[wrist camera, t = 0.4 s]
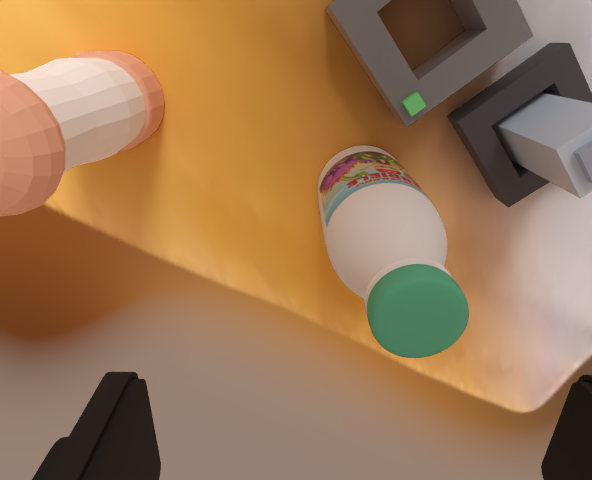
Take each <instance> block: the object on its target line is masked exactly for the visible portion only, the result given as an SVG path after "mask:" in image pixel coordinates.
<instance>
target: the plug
mask: <svg viewBox="0 0 592 480" xmlns="http://www.w3.org/2000/svg"><path fill="white" fill-rule="evenodd" d="M491 127H492V128H493V130H494V132H495V134H496V136H497V137H498V139H499V141H500V143H501V144H502V146H503V148H504V150H505V152H506V153H507V155H508V157H509V159H510V160H511V161H513V162H515V163H517V164H519V165H521V166H522V167H524V168H526V169H528V170H530V171H532V172H533V173H535V174H537V175H539V176H541V177H543V178H544V179H546V180H548V181H550V182H552V183H554V184H555V185H557V186H559V187H561V188H563V189H565V190H566V191H568V192H570V193H572V194H574V195H576V196H577V197H579V198H581V197H583V196H585V195H586V194H588V193H590V192H591V191H592V103H590V102H585V101H580V100H575V99H570V98H565V97H561V96H556V95H551V94H546V93H541V92H540V93H539V94H537V95H536V96H534V97H533V98H532V99H530V100H529V101H527V102H526V103H524V104H523V105H521V106H520V107H518V108H517V109H515V110H514V111H512V112H511V113H510V114H508V115H507V116H505V117H504V118H502V119H501V120H499V121H498V122H496V123H495V124H493V125H492V126H491Z"/></svg>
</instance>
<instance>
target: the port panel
mask: <svg viewBox="0 0 592 480" xmlns="http://www.w3.org/2000/svg"><path fill="white" fill-rule="evenodd" d="M390 1H391V0H334V1H333V2H332V3H331V4H329V5H328V6H327V8H326V9H325V11H326V12H327V14H328V15H329V17H330V18H331V20H332V21H333V23H334V24H335V26H336V28H337V29H338V31H339V32H340V34H341V35H342V37H343V38H344V40H345V41H346V43H347V45H348V46H349V48H350V49H351V51H352V52H353V54H354V55H355V57H356V58H357V60H358V61H359V63H360V65H361V66H362V68H363V69H364V71H365V72H366V74H367V75H368V77H369V78H370V80H371V82H372V83H373V85H374V86H375V88H376V89H377V91H378V92H379V94H380V95H381V97H382V99H383V100H384V102H385V103H386V105H387V106H388V108H389V109H390V111H391V112H392V114H393V115H394V117H395V118H396V119H397V120H398V121H400V122H401V123H402V124H404V125H405V126H406V127H408V126H409V125H410V124H412V123H413V122H415V121H416V120H417V119H419V118H420V117H422V116H423V115H424V114H426V113H427V112H428V111H430V110H431V109H433V108H434V107H435V106H437V105H438V104H440V103H441V102H442V101H444V100H445V99H446V98H448V97H449V96H451V95H452V94H453V93H455V92H456V91H458V90H459V89H460V88H462V87H463V86H464V85H466V84H467V83H469V82H470V81H471V80H473V79H474V78H476V77H477V76H478V75H480V74H481V73H482V72H484V71H485V70H487V69H488V68H489V67H491V66H492V65H494V64H495V63H496V62H498V61H499V60H500V59H502V58H503V57H505V56H506V55H507V54H509V53H510V52H512V51H513V50H514V49H516V48H517V47H518V46H520V45H521V44H523V43H524V42H525V41H527V40H528V39H530V38H531V37H532V36H533V34H532V32H531V30H530V28H529V26H528V24H527V22H526V19H525V17H524V15H523V13H522V11H521V9H520V7H519V5H518V2H517V0H450V2H451V4H452V6H453V8H454V10H455V12H456V14H457V16H458V17H459V19H460V21H461V23H462V25H463V27H464V29H465V31H464V32H463V33H461V34H460V35H459V36H457V37H456V38H455V39H453V40H452V41H451V42H449V43H448V44H447V45H446V46H444V47H443V48H442V49H440V50H439V51H438V52H436V53H435V54H434V55H432V56H431V57H430V58H428V59H427V60H426V61H424V62H423V63H422V64H421V65H419V66H418V67H417V68H415V69H414V70H413V71H412V70H411V68H410V67H409V65H408V63H407V62H406V60H405V58H404V57H403V55H402V53H401V52H400V50H399V48H398V47H397V45H396V43H395V42H394V40H393V39H392V37H391V35H390V34H389V32H388V30H387V29H386V27H385V25H384V24H383V22H382V20H381V19H380V17H379V15H378V14H377V12H378V11H379V10H380V9H381V8H383V7H384V6H385V5H386V4H388V3H389V2H390Z"/></svg>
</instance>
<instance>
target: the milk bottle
mask: <svg viewBox="0 0 592 480" xmlns="http://www.w3.org/2000/svg"><path fill="white" fill-rule="evenodd" d="M317 190H318V202H319V209H320V216H321V222H322V228H323V234H324V240H325V244H326V248H327V252H328V256H329V259H330V262H331V264H332V266H333V268H334V270H335V272H336V274H337V275H338V277H339V278H340V279H341V281H342V282H343V283H344V284H345V285H346V286H347V287H348V288H349V289H350V290H351V291H352V292H354V293H355V294H356V295H358V296H360V297H361V298H363V299H364V304H365V309H366V312H367V316H368V321H369V325H370V327H371V330H372V333H373V335H374V337H375V338H376V340H377V341H378V342H379V344H380V345H381V346H382V347H383V348H385V349H386V350H387V351H389V352H391V353H393V354H395V355H398V356H402V357H407V358H421V357H427V356H431V355H434V354H437V353H439V352H441V351H443V350H445V349H447V348H448V347H450V346H451V345H452V344H453V343H455V342H456V341H457V340H458V339H459V337H460V336H461V335H462V333H463V332H464V330H465V328H466V325H467V322H468V317H469V311H468V304H467V300H466V298H465V296H464V294H463V292H462V290H461V289H460V287H459V286H458V284H457V283H456V282H455V280H454V279H453V277H452V275H451V274H450V273H449V271H448V270H447V269H446V268H445V267H444V266H445V261H446V256H447V238H446V233H445V228H444V225H443V222H442V220H441V218H440V215H439V213H438V211H437V210H436V208H435V207H434V205H433V204H432V202H431V201H430V200H429V198H428V197H427V196H426V194H425V193H424V192H423V191H422V189H421V188H420V187H419V186H418V185H417V183H416V182H415V181H414V180H413V178H412V177H411V176H410V175H409V174H408V173H407V171H406V170H405V169H404V168H403V167H402V166H401V164H400V163H399V162H398V161H397V160H396V159H395V158H394V157H393V156H392V155H390V154H389V153H388V152H386V151H385V150H383V149H380V148H378V147H374V146H369V145H359V146H353V147H350V148H347V149H345V150H342V151H341V152H339V153H337V154H336V155H335V156H333V157H332V158H331V159H330V160H329V161H328V163H327V164H326V165H325V167H324V168H323V170H322V172H321V174H320V177H319V181H318V188H317Z"/></svg>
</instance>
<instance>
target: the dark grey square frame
mask: <svg viewBox="0 0 592 480" xmlns="http://www.w3.org/2000/svg"><path fill="white" fill-rule="evenodd" d="M542 91H543V93H546V94H551V95H556V96H561V97H565V98H570V99H575V100H580V101H585V102H590V103H592V93H591V91H590V89H589V86H588V84H587V82H586V79H585V77H584V75H583V73H582V70H581V68H580V66H579V64H578V61H577V59H576V57H575V54H574V52H573V50H572V48H571V45H570V43H550V44H548V45H547V46H545V47H544V48H543V49H541V50H540V51H538V52H537V53H536V54H534V55H533V56H531V57H530V58H529V59H527V60H526V61H524V62H523V63H522V64H520V65H519V66H517V67H516V68H514V69H513V70H512V71H510V72H509V73H507V74H506V75H505V76H503V77H502V78H500V79H499V80H498V81H496V82H495V83H493V84H492V85H490V86H489V87H488V88H486V89H485V90H483V91H482V92H481V93H479V94H478V95H476V96H475V97H474V98H472V99H471V100H469V101H468V102H467V103H465V104H464V105H462V106H461V107H459V108H458V109H457V110H455V111H454V112H452V113H451V114H450V115H448V116H447V117H448V118H449V120H450V122H451V124H452V125H453V127H454V129H455V130H456V132H457V134H458V135H459V137H460V139H461V140H462V142H463V144H464V145H465V147H466V149H467V150H468V152H469V154H470V155H471V157H472V159H473V160H474V162H475V164H476V166H477V167H478V169H479V171H480V172H481V174H482V176H483V177H484V179H485V181H486V182H487V184H488V186H489V187H490V189H491V191H492V192H493V194H494V196H495V197H496V198H497V199H498V200H499V201H501V202H502V203H503V204H505V205H506V206H507V207H510V206H511V205H513V204H515V203H516V202H518V201H519V200H521V199H523V198H524V197H526V196H528V195H529V194H531V193H532V192H534V191H536V190H537V189H539V188H541V187H542V186H544V185H545V184H547V183H549V182H550V181H548V180H546V179H544V178H543V177H541V176H539V175H537V174H535V173H533V172H532V171H530V170H528V169H526V168H524V167H522V166H521V165H519V164H517V163H514V164H512V162H511V161H510V159H509V157H508V155H507V153H506V152H505V150H504V148H503V146H502V144H501V143H500V141H499V139H498V137H497V136H496V134H495V132H494V130H493V128H492V127H491V126H492V125H493V124H495V123H496V122H498V121H499V120H501V119H502V118H504V117H505V116H507V115H508V114H510V113H511V112H512V111H514V110H515V109H517V108H518V107H520V106H521V105H523V104H524V103H526V102H527V101H529V100H530V99H532V98H533V97H534V96H536V95H537V94H539V93H540V92H542Z"/></svg>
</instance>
